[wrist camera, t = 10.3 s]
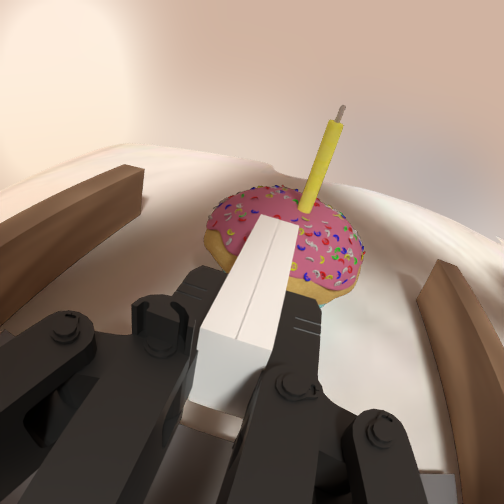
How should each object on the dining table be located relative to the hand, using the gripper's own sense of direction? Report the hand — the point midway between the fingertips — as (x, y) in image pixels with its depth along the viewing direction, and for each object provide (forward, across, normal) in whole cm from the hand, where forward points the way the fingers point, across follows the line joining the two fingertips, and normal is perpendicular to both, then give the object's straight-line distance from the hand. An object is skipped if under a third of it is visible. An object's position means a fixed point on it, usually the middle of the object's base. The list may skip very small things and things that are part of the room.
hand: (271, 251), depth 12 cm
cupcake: (+4, 0, -6) cm, 7 cm away
